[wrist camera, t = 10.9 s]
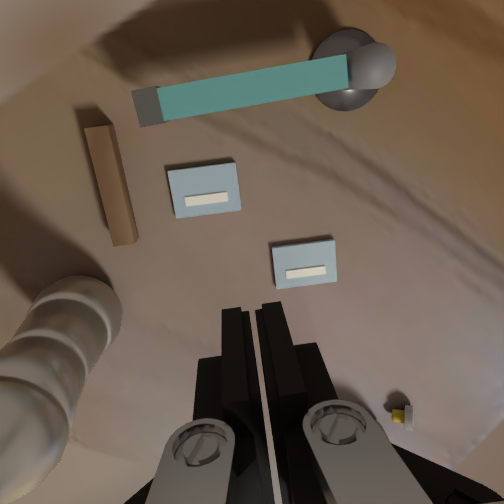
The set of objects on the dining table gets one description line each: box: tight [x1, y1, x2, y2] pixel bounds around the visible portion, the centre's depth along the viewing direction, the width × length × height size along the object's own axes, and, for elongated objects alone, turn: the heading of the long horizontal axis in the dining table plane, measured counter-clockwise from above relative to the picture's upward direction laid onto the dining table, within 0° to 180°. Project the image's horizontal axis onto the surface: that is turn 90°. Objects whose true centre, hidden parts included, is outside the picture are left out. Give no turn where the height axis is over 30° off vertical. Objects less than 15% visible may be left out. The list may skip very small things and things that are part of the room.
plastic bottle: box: [0, 275, 122, 504], centre depth 25 cm, size 6×7×20 cm
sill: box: [84, 124, 139, 246], centre depth 31 cm, size 2×8×2 cm, turn 7°
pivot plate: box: [312, 29, 379, 111], centre depth 29 cm, size 5×5×1 cm
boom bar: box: [131, 42, 396, 127], centre depth 26 cm, size 15×2×6 cm, turn 100°
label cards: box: [167, 162, 337, 289], centre depth 33 cm, size 12×11×1 cm
